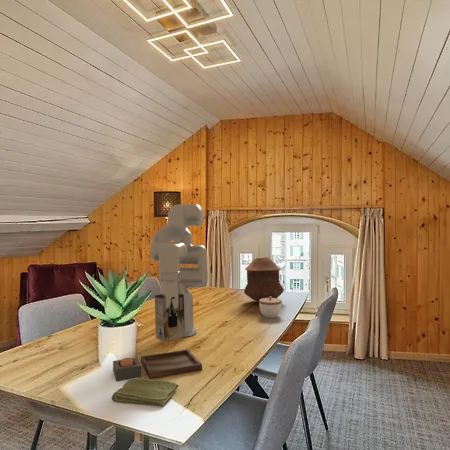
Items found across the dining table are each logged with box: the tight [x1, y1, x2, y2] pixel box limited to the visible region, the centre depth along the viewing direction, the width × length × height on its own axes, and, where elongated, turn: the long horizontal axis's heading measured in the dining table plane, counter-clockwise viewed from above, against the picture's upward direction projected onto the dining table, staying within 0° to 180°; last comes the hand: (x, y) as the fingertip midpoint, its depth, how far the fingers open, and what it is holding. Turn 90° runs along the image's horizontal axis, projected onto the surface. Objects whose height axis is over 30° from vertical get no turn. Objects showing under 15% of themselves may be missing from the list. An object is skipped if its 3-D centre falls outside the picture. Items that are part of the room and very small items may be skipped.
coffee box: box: [154, 293, 186, 343], centre depth 139 cm, size 9×6×16 cm
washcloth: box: [111, 378, 179, 407], centre depth 117 cm, size 13×18×3 cm
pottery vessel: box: [243, 256, 285, 305], centre depth 242 cm, size 26×26×30 cm
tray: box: [140, 349, 203, 380], centre depth 139 cm, size 17×19×2 cm
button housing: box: [112, 356, 143, 382], centre depth 132 cm, size 9×9×4 cm
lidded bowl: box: [258, 296, 282, 319], centre depth 210 cm, size 13×13×11 cm
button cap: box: [120, 357, 134, 367], centre depth 132 cm, size 4×4×3 cm
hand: (169, 323), depth 139 cm, fingers closed on coffee box, 7 cm apart
